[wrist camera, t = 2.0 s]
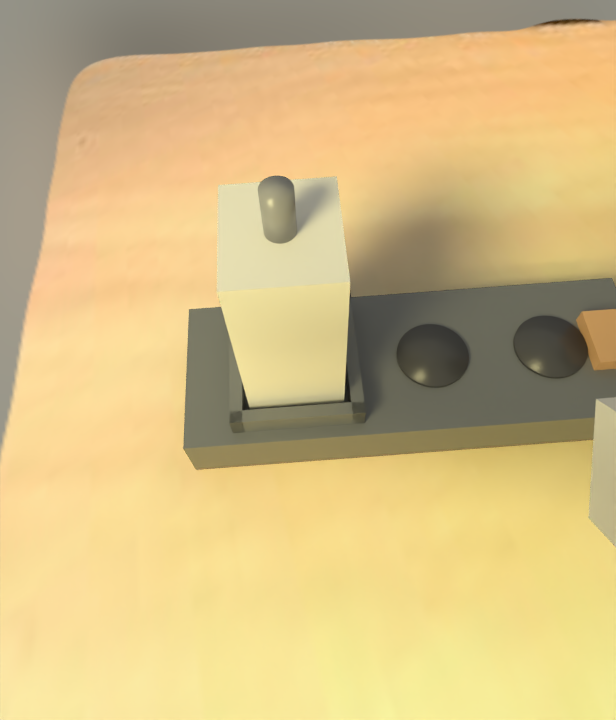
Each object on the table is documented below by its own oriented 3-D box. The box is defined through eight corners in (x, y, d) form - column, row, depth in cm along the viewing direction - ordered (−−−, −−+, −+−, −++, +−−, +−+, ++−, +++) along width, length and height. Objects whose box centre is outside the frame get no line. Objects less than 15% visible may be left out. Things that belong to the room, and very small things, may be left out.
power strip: (590, 309, 34) (621, 264, 30) (637, 436, 30) (680, 401, 27) (199, 338, 34) (184, 296, 30) (195, 469, 30) (177, 439, 26)
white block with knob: (334, 322, 31) (337, 132, 20) (343, 407, 28) (352, 242, 18) (249, 328, 31) (208, 141, 20) (251, 414, 28) (206, 252, 18)
